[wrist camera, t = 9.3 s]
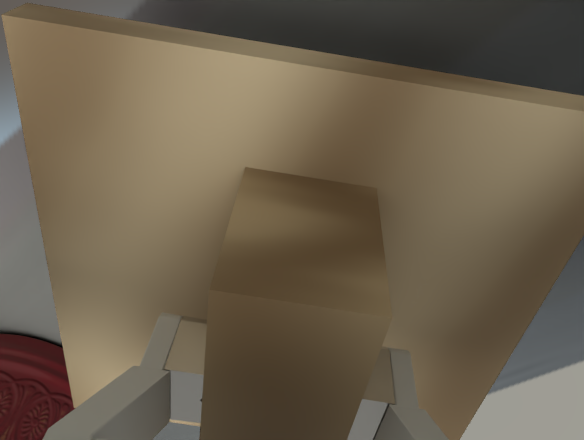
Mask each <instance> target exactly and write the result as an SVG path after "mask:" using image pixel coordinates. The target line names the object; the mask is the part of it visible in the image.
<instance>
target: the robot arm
mask: <svg viewBox="0 0 584 440" xmlns="http://www.w3.org/2000/svg"><path fill="white" fill-rule="evenodd" d="M206 331H207V320H205V319H199V318H194V317H188V316H181V315H175V314H169V313H164V312H162V313H161V315H160V316H159V317H158V320H157V323H156V325H155V328H154V330H153V333H152V335H151V338H150V340H149V343H148V346H147V348H146V351H145V353H144V356H143V358H142V361H141V363H140V366H132V367H131V368H129V369H128V370H127V371H125V372H124V373H123V374H121V375H120V376H118V377H117V378H116V379H114V380H113V381H112V382H110V383H109V384H108V385H106V386H105V387H104V388H102V389H101V390H100V391H98V392H97V393H96V394H94V395H93V396H91V397H90V398H89V399H87V400H86V401H85V402H83V403H82V404H81V405H79V406H78V407H77V408H75V409H74V410H73V411H71V412H70V413H69V414H67V415H66V416H64V417H63V418H62V419H60V420H59V421H58V422H56V423H55V424H54V425H52V426H51V427H50V428H48V430H47V432H46V434H45V436H44V438H43V440H152V439H153V438H154V437H155V436H156V435H157V434H158V433H159V432H160V431H161V430H162V429H163V428H164V427H165V426H166V425H167V424H168V423H169V419H171V420H179V421H187V422H196V423H201V408H202V393H203V377H204V362H205V347H206ZM347 440H449V439H448V438H447V437H446V436H445V434H444V433H443V432H442V430H441V429H440V428H439V427H438V425H437V424H436V423H435V422H434V420H433V419H432V418H431V417H430V415H429V414H428V413H427V412H426V410H424V409H419V406H418V399H417V393H416V386H415V380H414V374H413V367H412V361H411V354H410V352H409V351H408V350H402V349H396V348H389V347H388V348H387V347H384V346H382V347H381V350H380V353H379V355H378V358H377V361H376V363H375V366H374V369H373V371H372V374H371V377H370V379H369V382H368V385H367V387H366V390H365V393H364V396H363V398H362V401H361V404H360V406H359V409H358V412H357V414H356V417H355V420H354V422H353V425H352V428H351V430H350V433H349V436H348V438H347Z"/></svg>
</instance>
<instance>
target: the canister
mask: <svg viewBox="0 0 584 440" xmlns="http://www.w3.org/2000/svg"><path fill="white" fill-rule="evenodd" d="M74 409H75V408H74V406H73V400H72V395H71V389H70V384H69V378H68V373H67V368H66V362H65V357H64V351H63V348H61V347H59V346H56V345H54V344H51V343H48V342H45V341H42V340H39V339H35V338H31V337H26V336H20V335H12V334H0V440H43V438H44V436H45V434H46V432H47V430H48V428H50V427H51V426H52V425H54V424H55V423H56V422H58V421H59V420H60V419H62V418H63V417H64V416H66V415H67V414H69V413H70V412H71V411H73V410H74Z"/></svg>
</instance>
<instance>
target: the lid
mask: <svg viewBox="0 0 584 440" xmlns="http://www.w3.org/2000/svg"><path fill="white" fill-rule="evenodd" d="M2 20H3V26H4V31H5V36H6V42H7V48H8V52H9V58H10V64H11V68H12V75H13V80H14V85H15V90H16V96H17V101H18V107H19V112H20V118H21V123H22V129H23V134H24V140H25V145H26V151H27V156H28V161H29V167H30V172H31V178H32V183H33V189H34V194H35V199H36V205H37V210H38V216H39V221H40V227H41V232H42V237H43V243H44V248H45V254H46V259H47V264H48V270H49V275H50V281H51V286H52V292H53V297H54V302H55V308H56V313H57V319H58V324H59V330H60V335H61V340H62V346H63V351H64V357H65V362H66V368H67V373H68V378H69V384H70V389H71V395H72V400H73V406H74V408H77V407H78V406H79V405H81V404H82V403H83V402H85V401H86V400H87V399H89V398H90V397H91V396H93V395H94V394H96V393H97V392H98V391H100V390H101V389H102V388H104V387H105V386H106V385H108V384H109V383H110V382H112V381H113V380H114V379H116V378H117V377H118V376H120V375H121V374H123V373H124V372H125V371H127V370H128V369H129V368H131V367H132V366H140V363H141V361H142V358H143V356H144V353H145V351H146V348H147V346H148V343H149V340H150V338H151V335H152V333H153V330H154V328H155V325H156V323H157V320H158V317H159V316H160V315H161V313H162V312H164V313H169V314H175V315H181V316H188V317H194V318H199V319H205V320H207V331H206V347H205V362H204V377H203V393H202V408H201V423H196V422H187V421H179V420H171V419H169V422H174V423H181V424H188V425H194V426H200V439H199V440H347V438H348V436H349V433H350V430H351V428H352V425H353V422H354V420H355V417H356V414H357V412H358V409H359V406H360V404H361V401H362V398H363V396H364V393H365V390H366V387H367V385H368V382H369V379H370V377H371V374H372V371H373V369H374V366H375V363H376V361H377V358H378V355H379V353H380V350H381V347H382V346H384V347H387V348H388V347H389V348H396V349H402V350H408V351H409V352H410V354H411V361H412V367H413V374H414V380H415V386H416V393H417V399H418V406H419V409H424V410H426V412H427V413H428V414H429V415H430V417H431V418H432V419H433V420H434V422H435V423H436V424H437V425H438V427H439V428H440V429H441V430H442V432H443V433H444V434H445V436H446V437H447V438H448V439H449V440H460V438H461V436H462V435H463V433H464V431H465V430H466V428H467V426H468V425H469V423H470V421H471V420H472V418H473V417H474V415H475V413H476V411H477V410H478V408H479V407H480V405H481V403H482V402H483V400H484V399H485V397H486V395H487V394H488V392H489V390H490V389H491V387H492V385H493V384H494V382H495V380H496V379H497V377H498V375H499V374H500V372H501V371H502V369H503V367H504V366H505V364H506V362H507V361H508V359H509V357H510V356H511V354H512V352H513V351H514V349H515V348H516V346H517V344H518V343H519V341H520V339H521V338H522V336H523V334H524V333H525V331H526V329H527V328H528V326H529V324H530V323H531V321H532V320H533V318H534V316H535V315H536V313H537V311H538V310H539V308H540V306H541V305H542V303H543V301H544V300H545V298H546V297H547V295H548V293H549V292H550V290H551V288H552V287H553V285H554V283H555V282H556V280H557V278H558V277H559V275H560V273H561V272H562V270H563V269H564V267H565V265H566V264H567V262H568V260H569V259H570V257H571V255H572V254H573V252H574V250H575V249H576V247H577V246H578V244H579V242H580V241H581V239H582V237H583V236H584V96H581V95H575V94H569V93H563V92H557V91H551V90H545V89H539V88H533V87H527V86H521V85H515V84H509V83H503V82H497V81H491V80H485V79H479V78H473V77H467V76H462V75H456V74H450V73H444V72H438V71H432V70H426V69H420V68H414V67H408V66H402V65H396V64H390V63H384V62H378V61H372V60H366V59H360V58H354V57H348V56H342V55H336V54H330V53H324V52H318V51H312V50H306V49H300V48H294V47H288V46H282V45H276V44H270V43H264V42H258V41H252V40H246V39H240V38H234V37H228V36H222V35H217V34H211V33H205V32H199V31H193V30H187V29H181V28H175V27H169V26H163V25H157V24H151V23H145V22H139V21H133V20H127V19H121V18H115V17H109V16H103V15H97V14H91V13H85V12H79V11H72V10H67V9H61V8H55V7H49V6H43V5H37V4H31V3H25V4H23V5H21V6H19V7H17V8H15V9H13V10H10V11H8V12H6V13H4V14H2Z"/></svg>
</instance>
